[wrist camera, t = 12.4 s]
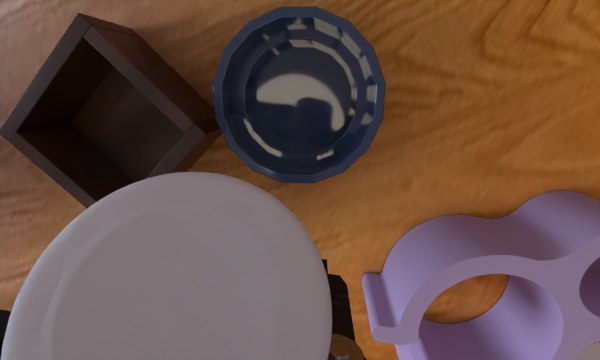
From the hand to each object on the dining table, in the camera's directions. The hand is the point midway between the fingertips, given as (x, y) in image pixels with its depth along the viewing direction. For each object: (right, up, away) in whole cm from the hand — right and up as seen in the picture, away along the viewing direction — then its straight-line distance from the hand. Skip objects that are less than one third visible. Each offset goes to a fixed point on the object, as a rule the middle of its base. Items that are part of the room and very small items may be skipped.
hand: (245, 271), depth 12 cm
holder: (-11, +8, +16) cm, 21 cm away
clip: (+18, -4, +17) cm, 25 cm away
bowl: (+2, +10, +14) cm, 17 cm away
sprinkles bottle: (-1, -4, +5) cm, 6 cm away
